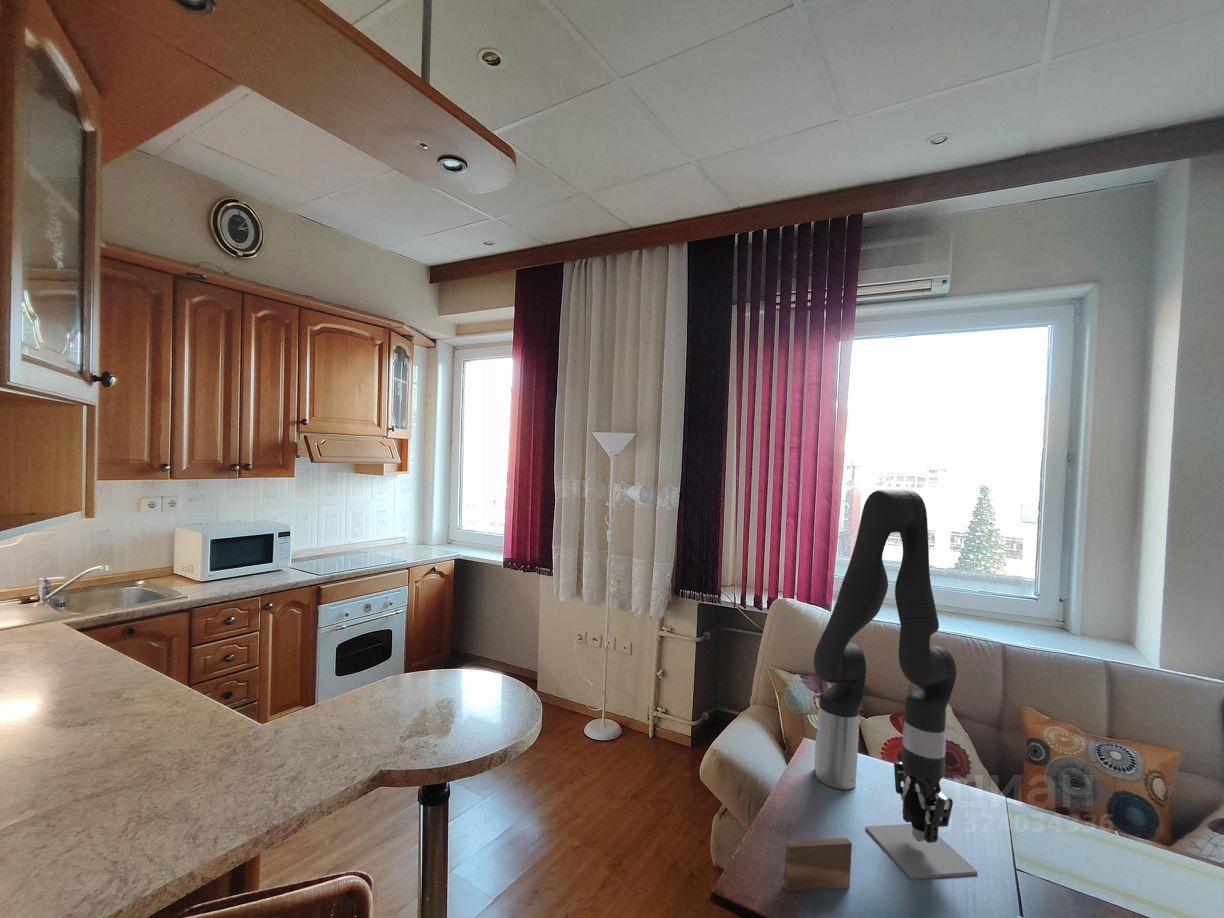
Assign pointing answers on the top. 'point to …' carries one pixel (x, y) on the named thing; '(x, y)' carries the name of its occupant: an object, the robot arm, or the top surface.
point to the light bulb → (916, 814)
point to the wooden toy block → (817, 864)
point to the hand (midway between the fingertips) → (919, 830)
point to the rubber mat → (919, 853)
